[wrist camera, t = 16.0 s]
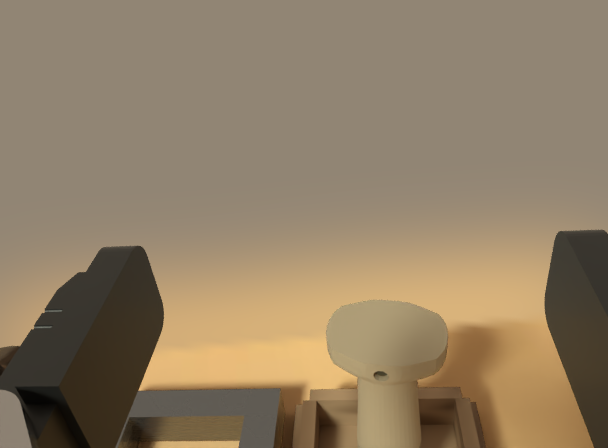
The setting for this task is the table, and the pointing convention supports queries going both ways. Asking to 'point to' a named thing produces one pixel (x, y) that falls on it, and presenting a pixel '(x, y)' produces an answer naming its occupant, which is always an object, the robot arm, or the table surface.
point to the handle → (387, 365)
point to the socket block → (206, 417)
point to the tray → (344, 408)
